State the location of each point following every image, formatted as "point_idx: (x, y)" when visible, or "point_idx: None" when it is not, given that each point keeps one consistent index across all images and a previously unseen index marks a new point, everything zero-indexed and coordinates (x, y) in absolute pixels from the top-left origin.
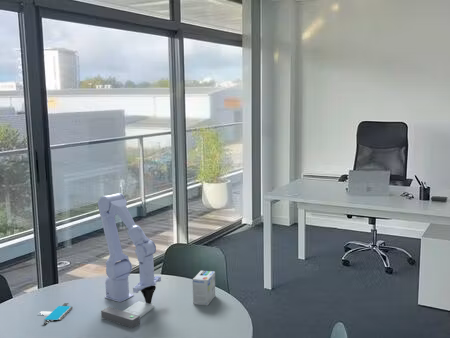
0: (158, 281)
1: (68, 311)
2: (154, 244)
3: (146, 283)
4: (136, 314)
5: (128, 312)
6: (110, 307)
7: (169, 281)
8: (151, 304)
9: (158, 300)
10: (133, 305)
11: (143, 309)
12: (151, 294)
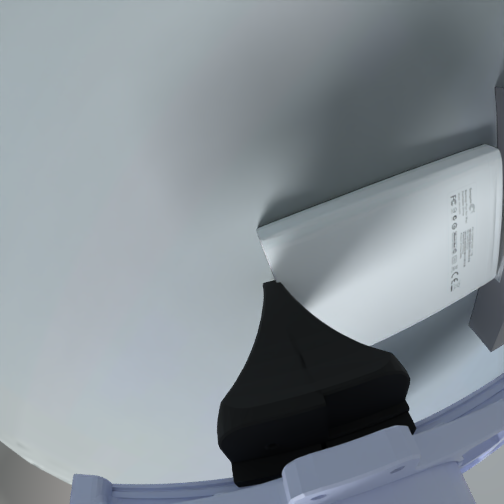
0: (109, 482)
1: None
2: None
3: (462, 476)
4: (478, 184)
5: (472, 255)
6: (496, 341)
7: (13, 427)
8: (283, 257)
9: (139, 320)
10: (382, 330)
11: (402, 217)
12: (292, 340)
